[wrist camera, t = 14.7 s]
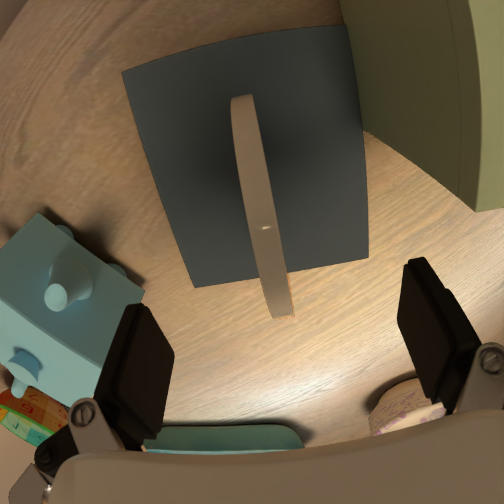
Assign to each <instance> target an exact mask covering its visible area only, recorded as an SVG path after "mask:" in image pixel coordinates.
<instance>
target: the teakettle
mask: <svg viewBox="0 0 504 504" xmlns="http://www.w3.org/2000/svg"><path fill="white" fill-rule="evenodd" d="M144 292H145V290H143V289H142V288H140V287H139V286H138V285H136V284H135V283H133V282H132V281H130V280H129V279H127V276H126V273H125V271H124V270H123V269H122V268H121V267H120V266H118V265H116V264H111V263H110V264H106V263H104V262H103V261H102V260H100V259H99V258H98V257H96V256H95V255H93V254H92V253H91V252H89V251H88V250H87V249H85V248H84V247H83V246H81V245H80V244H78V243H77V242H76V241H75V240H74V236H73V234H72V232H71V231H70V230H69V229H68V228H67V227H65V226H63V225H57V226H55V225H54V224H52V223H51V222H50V221H49V220H47V219H46V218H45V217H44V216H42V215H41V214H40V213H39V212H38V213H37V214H35V215H34V216H33V217H32V218H31V219H30V220H29V221H28V222H27V223H26V224H25V225H24V226H23V227H22V228H21V229H20V230H19V231H18V232H17V233H16V234H15V235H14V236H13V237H12V238H11V239H10V240H9V241H8V242H7V243H6V244H5V245H4V246H3V247H2V248H1V249H0V363H1V364H2V365H3V366H5V367H6V368H7V369H8V370H9V371H10V372H11V374H12V375H13V376H14V377H15V378H14V381H13V384H12V387H11V392H12V394H13V395H14V396H15V397H16V398H21V397H22V396H23V395H24V393H25V390H26V389H27V387H28V385H31V386H34V387H36V388H37V389H39V390H40V391H42V392H44V393H45V394H47V395H49V396H50V397H52V398H54V399H55V400H57V401H59V402H61V403H62V404H64V405H66V406H68V407H71V406H72V405H73V403H75V402H76V401H77V400H79V399H81V398H85V397H89V398H90V397H91V396H92V395H94V391H95V388H96V385H97V382H98V379H99V376H100V373H101V370H102V367H103V365H104V362H105V359H106V356H107V354H108V351H109V348H110V346H111V343H112V340H113V338H114V335H115V332H116V330H117V327H118V325H119V322H120V320H121V317H122V315H123V312H124V310H125V307H126V306H127V305H128V304H136V303H141V300H142V297H143V295H144Z"/></svg>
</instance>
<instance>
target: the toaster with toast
mask: <svg viewBox="0 0 504 504" xmlns="http://www.w3.org/2000/svg"><path fill="white" fill-rule="evenodd" d="M339 2H340V7H341V11H342V15H343V20H344V24H345V25H347V30H348V35H349V40H350V45H351V50H352V56H353V62H354V68H355V74H356V81H357V87H358V95H359V102H360V110H361V119H362V128H363V130H365V131H367V132H368V133H370V134H371V135H373V136H374V137H376V138H378V139H379V140H381V141H382V142H384V143H385V144H387V145H388V146H390V147H391V148H393V149H394V150H396V151H397V152H398V153H400V154H401V155H403V156H404V157H406V158H407V159H408V160H410V161H411V162H413V163H414V164H415V165H417V166H418V167H419V168H421V169H422V170H423V171H425V172H426V173H427V174H429V175H430V176H431V177H433V178H434V179H435V180H437V181H438V182H439V183H440V184H442V185H443V186H444V187H445V188H447V189H448V190H449V191H450V192H452V193H453V194H454V195H455V196H456V197H459V199H460V200H461V201H463V202H464V203H465V204H466V205H467V206H468V207H470V208H471V209H472V210H473V211H474V212H482V211H487V210H493V209H499V208H504V0H339Z"/></svg>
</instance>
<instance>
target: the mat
mask: <svg viewBox="0 0 504 504" xmlns="http://www.w3.org/2000/svg"><path fill="white" fill-rule="evenodd" d="M122 76H123V80H124V84H125V87H126V91H127V94H128V98H129V101H130V105H131V108H132V112H133V115H134V118H135V122H136V125H137V128H138V131H139V135H140V138H141V141H142V144H143V147H144V150H145V153H146V157H147V160H148V163H149V166H150V169H151V172H152V175H153V178H154V181H155V183H156V186H157V189H158V192H159V195H160V198H161V201H162V204H163V206H164V209H165V212H166V215H167V217H168V220H169V223H170V226H171V228H172V231H173V234H174V236H175V239H176V242H177V244H178V247H179V250H180V252H181V255H182V257H183V260H184V263H185V265H186V268H187V270H188V273H189V275H190V278H191V280H192V283H193V285H194V288H198V287H205V286H211V285H217V284H224V283H230V282H236V281H242V280H248V279H254V278H260V277H259V273H258V269H257V265H256V260H255V256H254V251H253V247H252V242H251V237H250V232H249V228H248V223H247V218H246V212H245V207H244V202H243V197H242V191H241V185H240V180H239V174H238V168H237V162H236V155H235V148H234V141H233V133H232V124H231V111H230V102H231V98H232V97H234V96H238V95H243V94H248V93H252V94H253V96H254V100H255V105H256V109H257V113H258V118H259V122H260V127H261V132H262V136H263V141H264V146H265V151H266V155H267V160H268V165H269V170H270V175H271V180H272V186H273V191H274V196H275V201H276V206H277V212H278V217H279V223H280V228H281V234H282V239H283V245H284V251H285V257H286V263H287V269H288V273H289V272H295V271H301V270H306V269H312V268H317V267H323V266H328V265H334V264H339V263H345V262H350V261H355V260H361V259H366V258H368V257H369V236H368V197H367V177H366V162H365V149H364V138H363V128H362V119H361V110H360V102H359V95H358V87H357V81H356V74H355V68H354V62H353V56H352V50H351V45H350V40H349V35H348V30H347V25H329V26H315V27H305V28H295V29H287V30H280V31H273V32H266V33H260V34H254V35H249V36H244V37H239V38H234V39H229V40H225V41H220V42H216V43H212V44H208V45H204V46H200V47H196V48H193V49H189V50H185V51H182V52H179V53H175V54H172V55H169V56H166V57H163V58H160V59H157V60H154V61H151V62H148V63H145V64H142V65H139V66H137V67H134V68H131V69H129V70H126V71H124V72H122Z"/></svg>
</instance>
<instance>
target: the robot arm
mask: <svg viewBox="0 0 504 504" xmlns="http://www.w3.org/2000/svg"><path fill="white" fill-rule="evenodd" d="M397 323H398V327H399V329H400V331H401V334H402V336H403V339H404V341H405V344H406V346H407V349H408V351H409V354H410V357H411V359H412V362H413V364H414V367H415V370H416V373H417V375H418V378H419V381H420V384H421V386H422V389H423V392H424V395H425V397H426V398H427V399H429V398H430V400H431V403H432V405H434V404H437V403H440V402H442V404H443V407H444V408H445V411H444V414H443V416H442V417H441V418H438V419H434V420H431V421H428V422H424V423H421V424H418V425H414V426H410V427H407V428H403V429H399V430H395V431H391V432H387V433H383V434H379V435H375V436H371V437H366V438H362V439H357V440H352V441H347V442H341V443H336V444H330V445H323V446H317V447H310V448H303V449H294V450H285V451H275V452H263V453H247V454H212V455H204V454H170V453H152V452H147V451H146V449H145V447H144V446H143V442H144V439H149V440H156V438H157V433H160V431H161V428H162V423H163V417H164V411H165V406H166V400H167V395H168V390H169V384H170V379H171V374H172V369H173V364H174V358H175V355H174V351H173V349H172V347H171V346H170V344H169V342H168V341H167V339H166V337H165V336H164V334H163V332H162V331H161V329H160V327H159V325H158V324H157V322H156V320H155V318H154V317H153V315H152V313H151V311H150V309H149V308H148V307H147V306H144V304H142V303H136V304H128V305H127V306H126V307H125V310H124V312H123V315H122V317H121V320H120V322H119V325H118V327H117V330H116V332H115V335H114V338H113V340H112V343H111V346H110V348H109V351H108V354H107V356H106V359H105V362H104V365H103V367H102V370H101V373H100V376H99V379H98V382H97V385H96V388H95V391H94V397H93V399H92V398H89V397H85V398H81V399H79V400H77V401H76V402H75V403H73V405H72V406H71V407H70V409H69V411H68V416H67V420H68V424H67V425H65V426H64V427H62V428H61V429H60V430H58V431H57V432H56V433H54V434H53V435H51V436H50V437H49V438H47V439H46V440H44V441H43V442H42V443H41V444H40V445H39V446H38V447H37V449H36V452H35V457H34V460H35V464H32V463H31V464H30V465H29V466H28V468H27V469H26V470H25V471H24V473H23V474H22V475H21V476H20V478H19V479H18V480H17V482H16V483H15V484H14V485H13V487H12V488H11V490H10V492H9V496H8V498H9V503H10V504H504V347H503V346H502V345H500V344H498V343H493V342H490V343H485V344H483V345H482V343H481V341H480V339H479V337H478V336H477V334H476V332H475V330H474V329H473V327H472V325H471V323H470V322H469V320H468V318H467V316H466V315H465V313H464V311H463V310H462V308H461V306H460V305H459V303H458V301H457V300H456V298H455V297H454V295H453V293H452V292H451V291H450V290H449V289H447V288H446V289H445V287H444V285H443V284H442V282H441V281H440V279H439V278H438V276H437V275H436V273H435V272H434V270H433V269H432V267H431V266H430V264H429V263H428V261H427V260H426V258H425V257H419V258H414V259H410V260H409V261H408V264H405V265H404V268H403V277H402V285H401V293H400V300H399V307H398V313H397Z"/></svg>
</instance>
